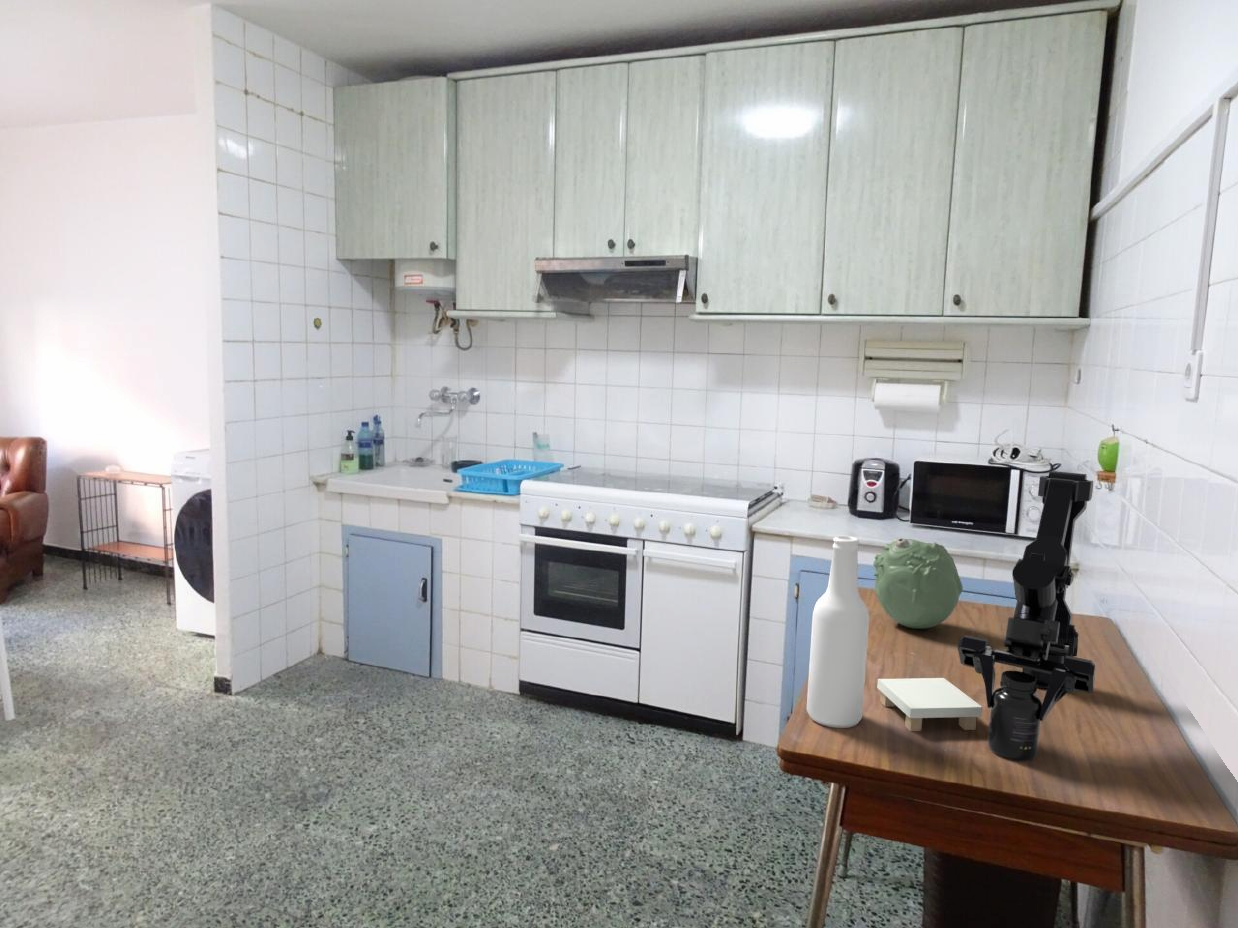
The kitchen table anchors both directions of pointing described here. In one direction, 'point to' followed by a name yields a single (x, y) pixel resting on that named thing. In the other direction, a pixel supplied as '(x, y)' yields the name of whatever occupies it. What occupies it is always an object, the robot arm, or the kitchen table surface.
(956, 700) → the white square riser
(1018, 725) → the supplement bottle
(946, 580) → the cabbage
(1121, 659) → the kitchen table surface
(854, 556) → the alcohol
